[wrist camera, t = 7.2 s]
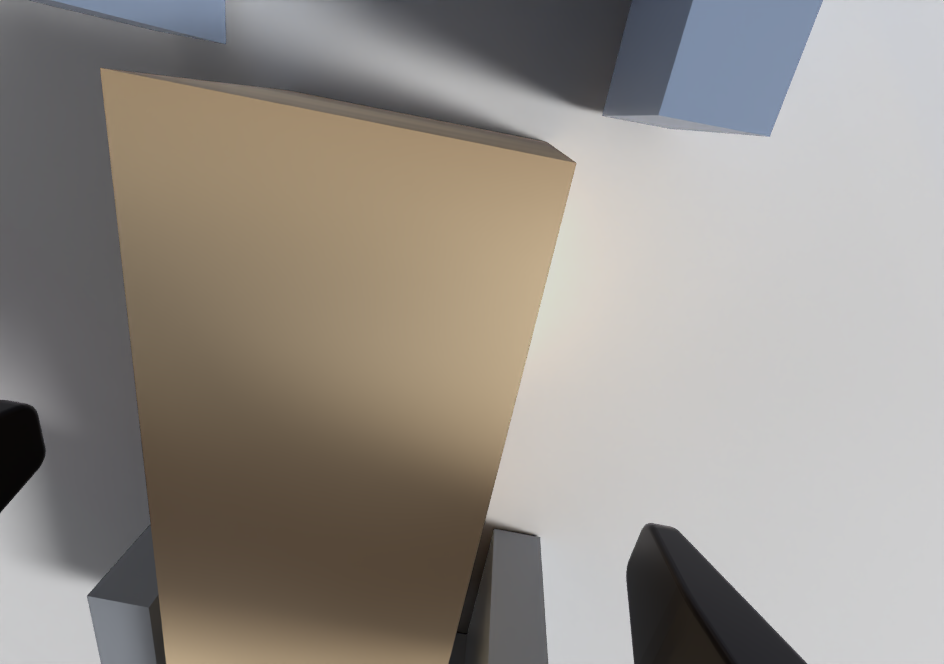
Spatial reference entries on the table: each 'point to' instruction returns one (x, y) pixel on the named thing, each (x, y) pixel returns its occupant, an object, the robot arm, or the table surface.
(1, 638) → the table surface
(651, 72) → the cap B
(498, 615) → the grey u channel
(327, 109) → the slat
